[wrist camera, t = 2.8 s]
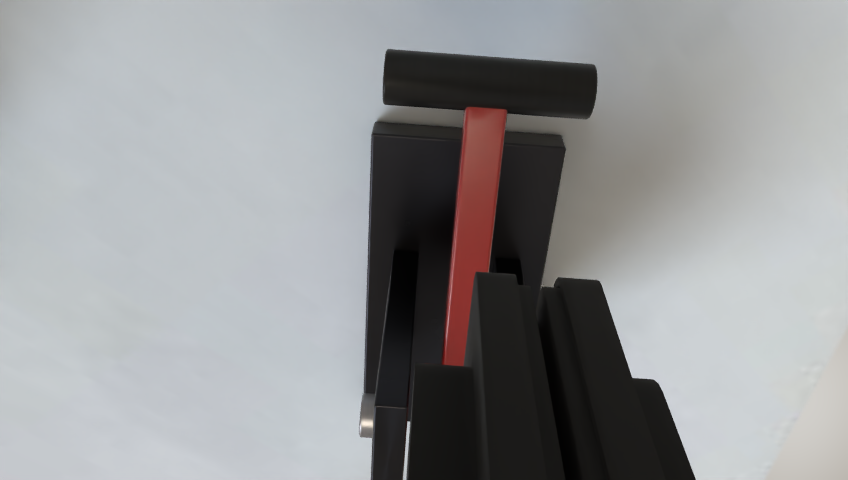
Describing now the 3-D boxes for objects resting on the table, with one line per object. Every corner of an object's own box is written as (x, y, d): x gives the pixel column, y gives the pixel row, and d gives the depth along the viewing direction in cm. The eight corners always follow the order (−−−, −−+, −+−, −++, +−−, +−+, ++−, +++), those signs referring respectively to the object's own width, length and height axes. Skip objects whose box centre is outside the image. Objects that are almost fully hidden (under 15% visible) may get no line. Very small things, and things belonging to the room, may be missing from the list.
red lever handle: (388, 42, 20) (383, 57, 18) (586, 57, 20) (604, 73, 18) (370, 426, 25) (363, 474, 23) (527, 437, 25) (535, 486, 23)
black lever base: (374, 121, 27) (340, 263, 18) (562, 134, 27) (613, 283, 19) (365, 400, 34) (338, 594, 26) (513, 410, 34) (534, 608, 26)
